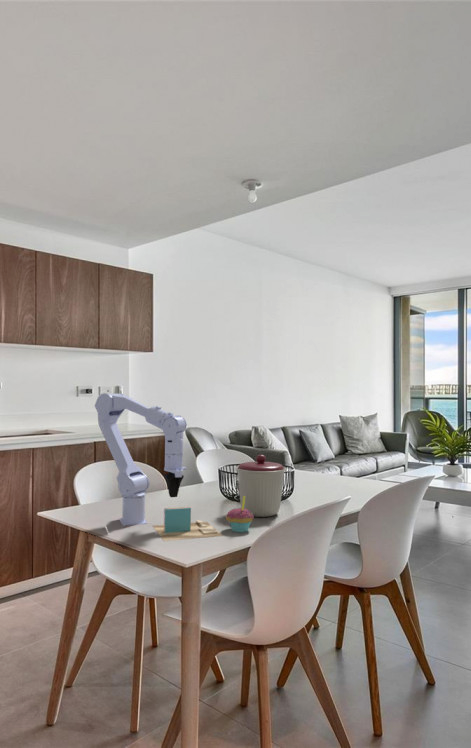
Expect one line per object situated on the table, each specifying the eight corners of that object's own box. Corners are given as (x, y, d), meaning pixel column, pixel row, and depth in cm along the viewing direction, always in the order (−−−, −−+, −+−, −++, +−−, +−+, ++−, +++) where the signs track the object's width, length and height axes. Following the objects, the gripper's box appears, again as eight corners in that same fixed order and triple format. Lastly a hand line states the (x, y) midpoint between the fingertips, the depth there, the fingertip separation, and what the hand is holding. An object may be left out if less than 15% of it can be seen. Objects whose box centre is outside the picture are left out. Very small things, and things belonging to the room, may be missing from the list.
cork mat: (152, 527, 170) (152, 525, 170) (206, 523, 176) (206, 521, 176) (163, 542, 153) (163, 540, 153) (223, 537, 159) (223, 535, 159)
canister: (270, 522, 177) (270, 459, 178) (225, 515, 187) (225, 455, 188) (294, 512, 192) (294, 454, 193) (251, 506, 202) (252, 450, 203)
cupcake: (258, 531, 166) (259, 492, 167) (241, 536, 160) (241, 496, 160) (238, 526, 172) (238, 489, 172) (220, 531, 166) (220, 492, 166)
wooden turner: (191, 523, 174) (191, 520, 174) (204, 522, 175) (204, 519, 175) (203, 534, 160) (203, 531, 160) (217, 533, 161) (217, 530, 161)
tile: (163, 531, 163) (164, 508, 163) (189, 529, 166) (189, 506, 166) (164, 532, 161) (165, 509, 161) (190, 530, 164) (190, 508, 164)
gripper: (191, 456, 164) (191, 500, 164) (180, 451, 178) (180, 491, 178) (169, 456, 162) (168, 501, 162) (160, 451, 176) (159, 492, 175)
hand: (173, 496), depth 169 cm, fingers closed
